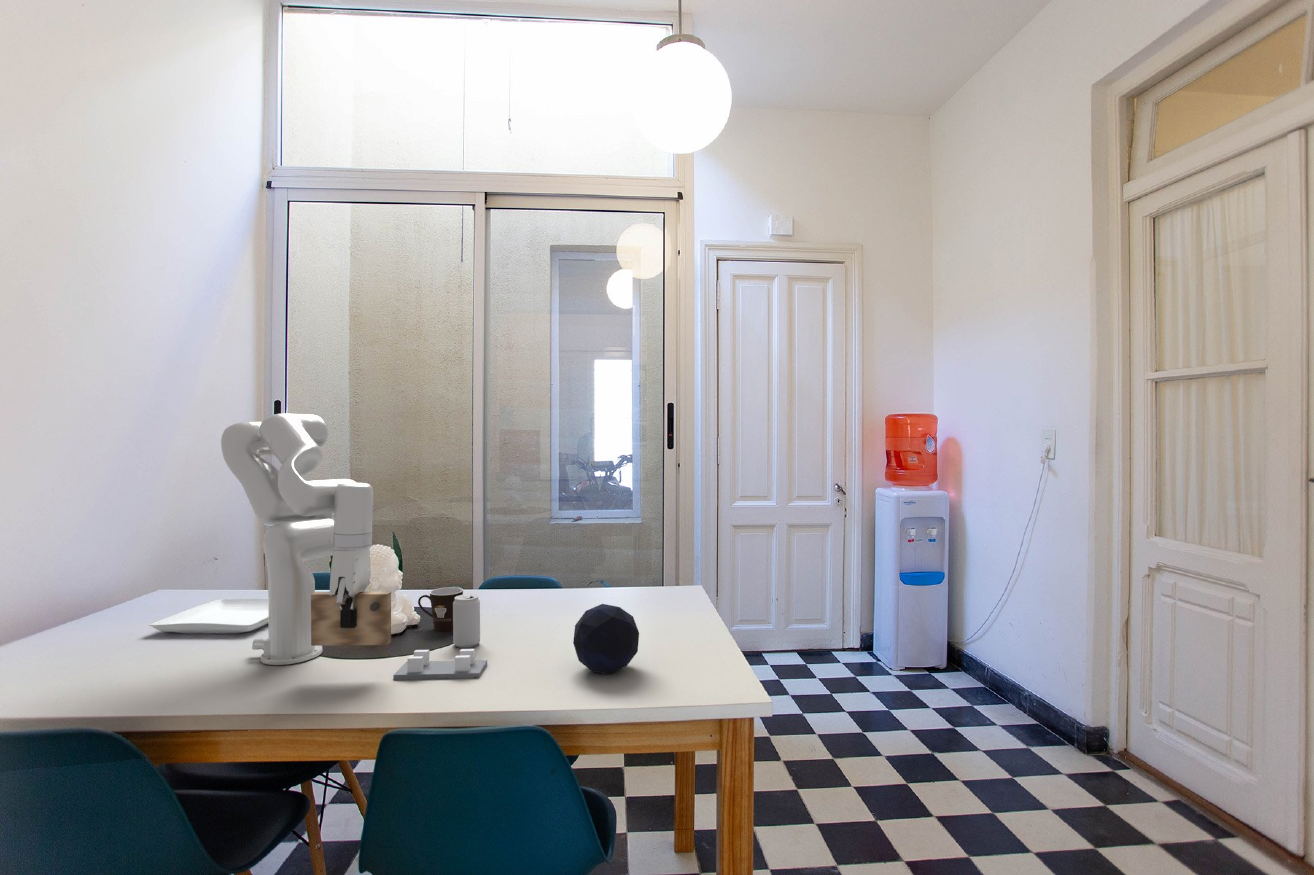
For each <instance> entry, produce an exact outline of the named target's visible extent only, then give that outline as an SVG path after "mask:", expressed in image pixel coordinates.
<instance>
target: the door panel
mask: <svg viewBox="0 0 1314 875" xmlns="http://www.w3.org/2000/svg"><path fill="white" fill-rule="evenodd" d="M346 594H349V593H346ZM346 599H349V600H350V602H351V598H346ZM336 600H337V595H336V596H334V597H332V596H330V591H315V593H313V594H311V646H322V647H324V646H330V647H331V646H388V645H390V644H391V643H392V591H364V592H359V593H358V594H356V595H355V609H357V626H356V627H355V628H341V627H340V613H341V610H340V605H339V604H337V603H336Z"/></svg>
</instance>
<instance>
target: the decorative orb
mask: <svg viewBox="0 0 1314 875" xmlns="http://www.w3.org/2000/svg"><path fill="white" fill-rule="evenodd" d="M639 639H640V632H639V628H638V626H637V623H636V620H635V618H634V616H633V615H632V614H630V613H629V612H627V611H626V610H625V609H623V608H622V607H620V606H616V605H611V604H605V603H601V604H598V605H596V606H594V607H591V608H590V609H587V610H585V611H584V612H583V614H582V615H581V617H580V618H579V619H578V621H577V622H576V623H575V625H574V633H573V642H572V644H573V646H574V649H575V650H574V651H575V654H576V657H577V659H578V662H579V663H580V664H582V665H583V666H585V667H586V668H587V669H588V670H590V671H591V672H592V673H593V672H594V673H599V674H607V675H612V674H614V673H616V672H618V671H620V670H623V668H626V667H628V665H629V664H630V662H631V661H632V660H633V658H634V657H635V656H636V654H638V651H639V641H640V640H639Z"/></svg>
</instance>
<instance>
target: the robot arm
mask: <svg viewBox="0 0 1314 875" xmlns="http://www.w3.org/2000/svg"><path fill="white" fill-rule="evenodd" d="M328 438H329V429H328V425H327V424H326V422H325V420H324V419H323V418H322V417H320V416H319V415H315V414H311V413H309V414H308V413H276V414H275V413H274V414H272V415H269V416H267V417H266V418H264V419H263V420H262V421H243V422H236V423H233V424H230V425H228V426H227V427H226V428H225V429H224V430H223V432H222V434H221V439H220V447H221V452H222V457H223V459H224V462H225V464H226V466H227V467H228V468H229V470H230V472H231V473H232V474H233V476H234V477H235V478H236V479H237V480H238V482H239V483H240V484H241V486H242V488H243V490H244V492H245V495H246V497H247V498H248V502H249V504H250V505H251V507H252V509H253V511H254V514H255V516H256V518H257V519H258V521H259V522H260V523H261V524H262V525H264V526H267V527H269V528H268V529H267V530H266V531H265V532H264V535H263V538H262V546H263V553H264V557H265V563H266V569H267V570H266V571H267V594H268V597H267V598H268V624H267V625H268V627H267V628H268V637H267V638H255V639H253V641H252V646H251V649H252V650H253V651H254V650H262V651H263V653H262V654H261V655H260V662H261V663H262V664H264V665H269V666H270V665H271V666H282V665H283V666H285V665H292V664H298V663H302V662H306V661H310V660H312V659H315V658H316V657H318V656H320V655H321V654H322V653H323V646H311V594H313V593H315V592H316V580H315V577H314V574H313V572H312V571H311V570H310V569H309V567H308V566H307V565H306V564H305V561H310V560H315V559H322V558H328V557H332V560H331V564H330V565H331V566H330V577H329V578H330V579H329V592H330V596H332V597H334V596H336V595H337V600H336V603H337V604H339V605H340V610H341V613H340V627H341V628H355V627H356V626H357V609H355V595H356V594H358V593H359V592H366V591H365V590H366V589H367V588H368V587H369V586H370V582H371V550H370V548H372V547H373V519H374V518H373V515H374V514H373V512H374V511H373V510H374V509H373V508H374V507H373V506H374V489H373V487H372V485H371V484H370V483H366V482H357V481H355V480H353V479H349V478H336V479H335V478H334V479H317V480H316V479H315V480H305V479H304V478H303V476H306V475H307V474H309V473H311V472H312V471H314V470H315V469H316V468H317V467H318V466H319V465H320V463H321V462H322V458H323V450H322V447H323V446H324V445H325V444H326V442H327V441H328ZM261 456H275V458H277V460H278V461H279V463H280V464H281V466H280V468H279V469H278V468H277V467H275V465H273V464H272V463H271V462H269V461H268V460H266V459H265V458H263V457H261ZM346 593H349V594H346ZM346 598H351V602H350V600H349V599H346Z"/></svg>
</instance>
